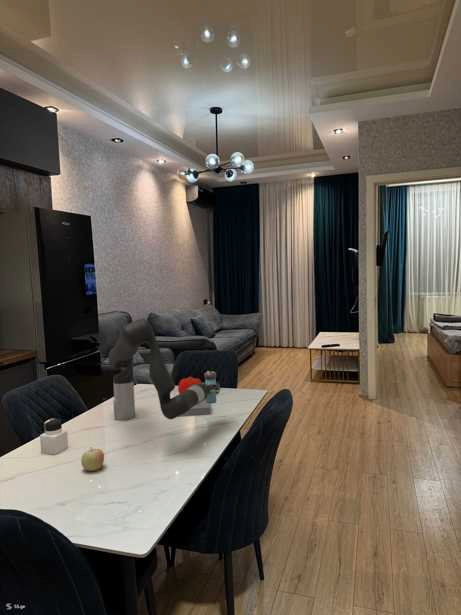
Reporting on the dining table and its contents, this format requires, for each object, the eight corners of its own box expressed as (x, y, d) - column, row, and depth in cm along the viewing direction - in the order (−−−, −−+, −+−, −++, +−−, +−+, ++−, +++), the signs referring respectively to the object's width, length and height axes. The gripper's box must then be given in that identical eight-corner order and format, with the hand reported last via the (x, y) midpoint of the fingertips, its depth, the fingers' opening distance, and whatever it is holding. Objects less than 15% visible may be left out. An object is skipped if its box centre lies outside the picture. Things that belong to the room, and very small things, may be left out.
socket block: (176, 416, 198) (175, 409, 198) (177, 406, 214) (176, 399, 214) (210, 414, 199) (209, 407, 199) (208, 404, 215) (208, 397, 215)
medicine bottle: (68, 447, 166) (66, 418, 165) (55, 455, 159) (53, 424, 158) (54, 445, 168) (52, 416, 167) (40, 453, 162) (38, 422, 161)
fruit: (92, 475, 142) (90, 452, 141) (77, 471, 146) (76, 448, 145) (109, 466, 148) (108, 444, 147) (95, 462, 152) (94, 440, 151)
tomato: (201, 401, 221) (201, 381, 221) (176, 401, 222) (176, 382, 221) (203, 393, 235) (203, 375, 234) (180, 394, 235) (179, 375, 234)
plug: (205, 404, 183) (204, 373, 181) (205, 400, 188) (204, 370, 187) (217, 403, 183) (216, 372, 182) (216, 399, 188) (215, 370, 187)
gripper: (211, 386, 169) (227, 376, 184) (180, 384, 174) (198, 374, 190) (211, 405, 169) (228, 393, 185) (180, 401, 175) (199, 390, 190)
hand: (213, 383), depth 187 cm, fingers closed on plug, 4 cm apart
